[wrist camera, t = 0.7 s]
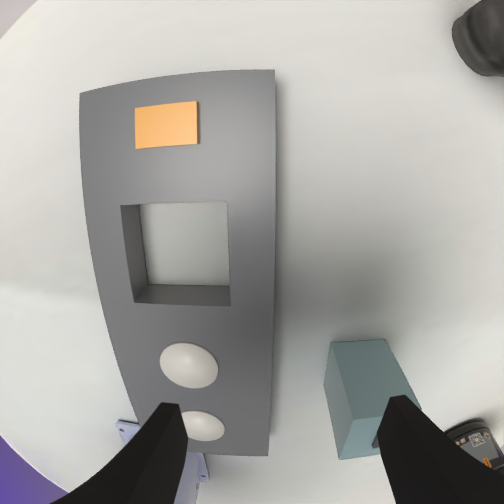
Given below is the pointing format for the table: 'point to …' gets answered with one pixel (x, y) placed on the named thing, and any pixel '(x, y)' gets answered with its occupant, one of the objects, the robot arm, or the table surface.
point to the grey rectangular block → (361, 393)
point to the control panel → (187, 296)
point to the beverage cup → (482, 37)
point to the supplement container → (479, 444)
